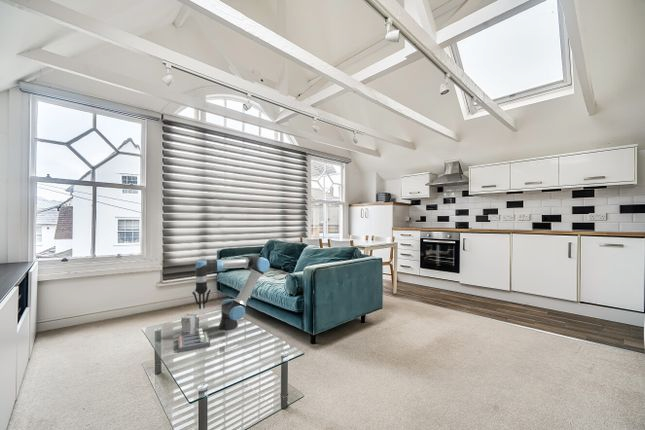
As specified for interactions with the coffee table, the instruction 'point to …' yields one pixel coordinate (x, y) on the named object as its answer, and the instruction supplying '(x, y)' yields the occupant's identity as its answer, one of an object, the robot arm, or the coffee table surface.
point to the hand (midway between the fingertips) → (201, 312)
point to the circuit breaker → (189, 324)
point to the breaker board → (192, 342)
